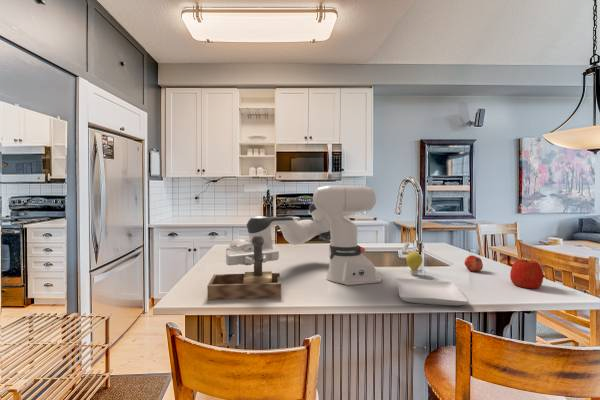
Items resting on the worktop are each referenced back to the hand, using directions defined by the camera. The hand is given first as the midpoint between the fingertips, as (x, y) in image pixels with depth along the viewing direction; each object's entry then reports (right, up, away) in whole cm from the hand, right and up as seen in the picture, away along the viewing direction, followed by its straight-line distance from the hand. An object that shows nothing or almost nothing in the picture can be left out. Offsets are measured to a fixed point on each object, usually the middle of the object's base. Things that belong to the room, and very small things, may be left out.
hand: (258, 261), depth 121 cm
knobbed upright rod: (0, -10, +1) cm, 10 cm away
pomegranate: (+94, -11, +32) cm, 100 cm away
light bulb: (+65, -11, +25) cm, 70 cm away
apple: (+103, -12, +10) cm, 104 cm away
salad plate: (+60, -13, -3) cm, 62 cm away
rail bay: (-5, -12, +1) cm, 13 cm away
